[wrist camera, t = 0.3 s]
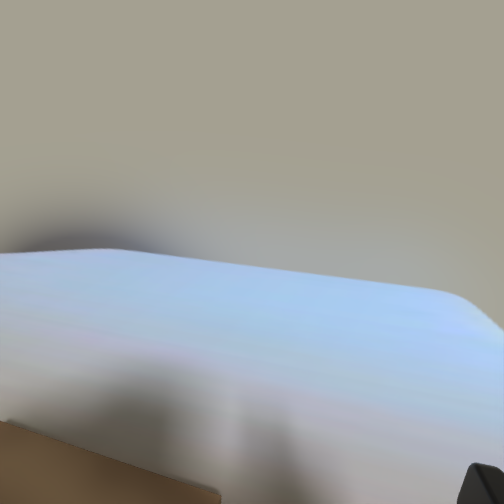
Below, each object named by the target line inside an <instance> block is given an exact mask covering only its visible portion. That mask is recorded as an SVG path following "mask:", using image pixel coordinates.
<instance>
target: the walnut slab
mask: <svg viewBox="0 0 504 504" xmlns="http://www.w3.org/2000/svg"><path fill="white" fill-rule="evenodd" d="M0 504H221V495H218V494H215V493H212V492H209V491H206V490H203V489H200V488H197V487H194V486H191V485H188V484H185V483H182V482H179V481H176V480H173V479H170V478H167V477H164V476H162V475H159V474H156V473H153V472H150V471H147V470H144V469H141V468H138V467H135V466H132V465H129V464H126V463H123V462H120V461H117V460H114V459H111V458H108V457H105V456H102V455H99V454H97V453H94V452H91V451H88V450H85V449H82V448H79V447H76V446H73V445H70V444H67V443H64V442H61V441H58V440H55V439H52V438H49V437H46V436H43V435H40V434H37V433H34V432H32V431H29V430H26V429H23V428H20V427H17V426H14V425H11V424H8V423H5V422H2V421H0Z"/></svg>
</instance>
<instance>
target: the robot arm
mask: <svg viewBox="0 0 504 504" xmlns="http://www.w3.org/2000/svg"><path fill="white" fill-rule="evenodd" d="M457 504H504V472H503V471H501V470H500V469H499V468H497V467H495V466H490V465H486V464H481V463H472V464H471V465H470V466H469V468H468V470H467V473H466V476H465V478H464V481H463V484H462V487H461V490H460V492H459V495H458V499H457Z"/></svg>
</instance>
